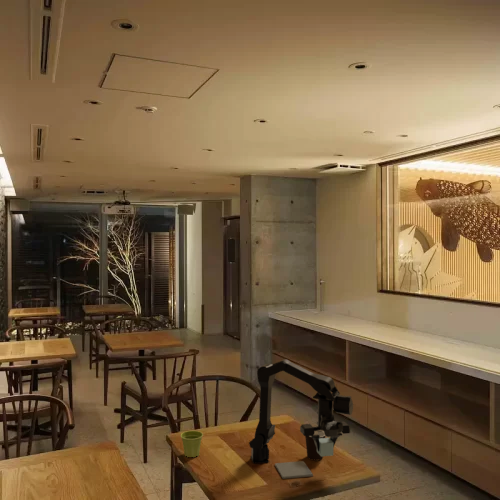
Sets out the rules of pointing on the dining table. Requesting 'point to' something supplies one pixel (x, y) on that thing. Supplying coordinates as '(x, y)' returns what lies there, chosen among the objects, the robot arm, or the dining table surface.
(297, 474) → the coaster
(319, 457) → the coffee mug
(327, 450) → the cube
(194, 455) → the plant pot
